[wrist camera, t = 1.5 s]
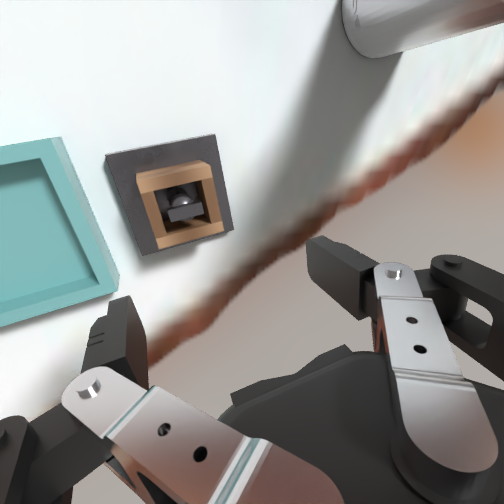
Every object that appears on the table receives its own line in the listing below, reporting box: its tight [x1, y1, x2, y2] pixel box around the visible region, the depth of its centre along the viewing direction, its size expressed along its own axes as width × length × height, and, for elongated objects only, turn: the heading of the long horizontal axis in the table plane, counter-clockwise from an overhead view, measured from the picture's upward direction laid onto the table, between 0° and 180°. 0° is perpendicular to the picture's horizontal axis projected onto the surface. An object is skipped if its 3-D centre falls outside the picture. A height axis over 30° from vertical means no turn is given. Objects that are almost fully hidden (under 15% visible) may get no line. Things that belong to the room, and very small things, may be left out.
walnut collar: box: [136, 160, 224, 249], centre depth 26 cm, size 6×6×4 cm
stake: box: [105, 134, 234, 256], centre depth 26 cm, size 10×10×7 cm
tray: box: [0, 137, 120, 327], centre depth 24 cm, size 14×14×4 cm
